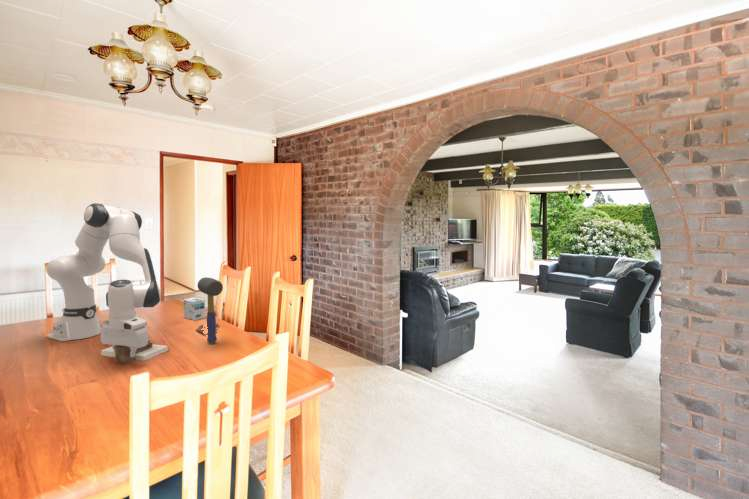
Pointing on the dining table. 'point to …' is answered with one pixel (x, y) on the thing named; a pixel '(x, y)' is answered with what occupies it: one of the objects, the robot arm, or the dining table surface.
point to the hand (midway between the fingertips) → (125, 355)
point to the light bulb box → (194, 308)
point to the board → (141, 355)
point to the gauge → (123, 351)
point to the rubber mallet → (210, 303)
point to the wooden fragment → (207, 328)
